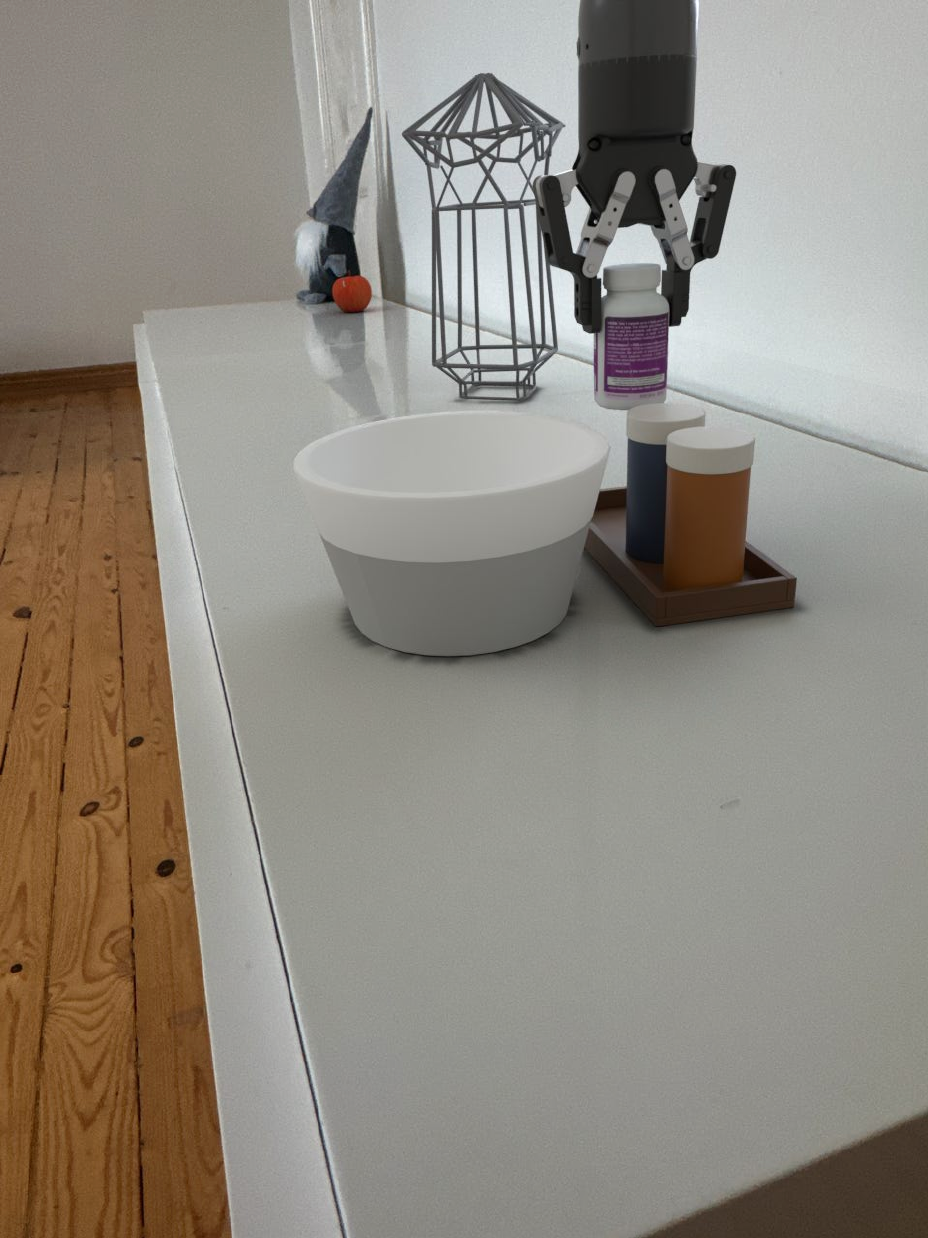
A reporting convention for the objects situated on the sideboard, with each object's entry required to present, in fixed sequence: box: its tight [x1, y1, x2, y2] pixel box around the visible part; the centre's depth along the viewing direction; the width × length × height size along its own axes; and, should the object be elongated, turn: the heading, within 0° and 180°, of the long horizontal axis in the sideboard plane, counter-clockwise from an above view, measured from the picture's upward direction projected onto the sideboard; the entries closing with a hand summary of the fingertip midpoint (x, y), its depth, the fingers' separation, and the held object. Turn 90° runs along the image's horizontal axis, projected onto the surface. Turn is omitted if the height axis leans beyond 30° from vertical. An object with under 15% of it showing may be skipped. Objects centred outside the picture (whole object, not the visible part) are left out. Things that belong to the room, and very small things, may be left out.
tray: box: [584, 485, 798, 627], centre depth 69 cm, size 9×21×2 cm, turn 12°
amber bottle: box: [663, 425, 756, 592], centre depth 61 cm, size 5×5×10 cm
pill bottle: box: [593, 262, 670, 411], centre depth 69 cm, size 5×5×10 cm
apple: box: [332, 269, 373, 314], centre depth 195 cm, size 8×8×8 cm
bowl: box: [292, 410, 611, 657], centre depth 61 cm, size 19×19×11 cm
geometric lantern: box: [401, 72, 566, 402], centre depth 113 cm, size 16×16×35 cm
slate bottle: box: [625, 402, 707, 563], centre depth 67 cm, size 5×5×10 cm
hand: (631, 327), depth 69 cm, fingers closed on pill bottle, 5 cm apart
